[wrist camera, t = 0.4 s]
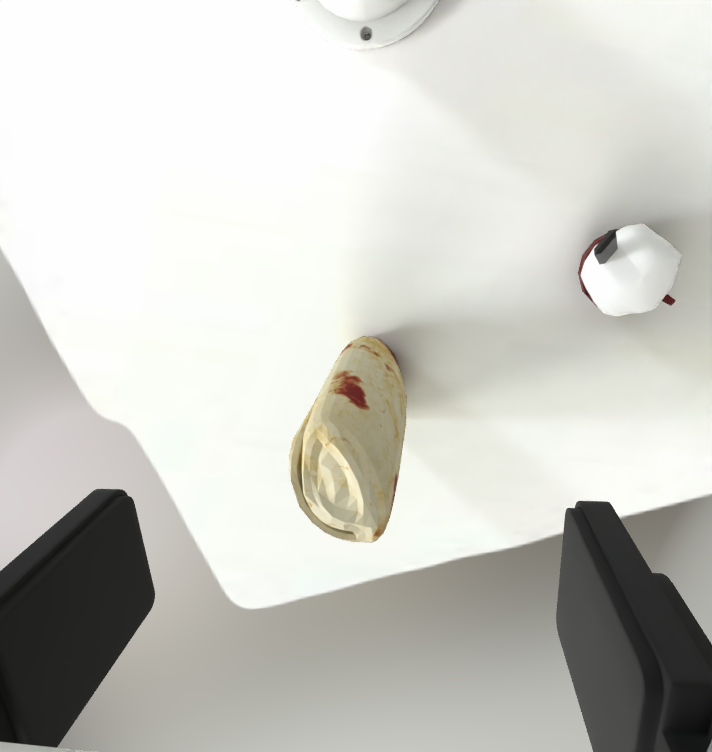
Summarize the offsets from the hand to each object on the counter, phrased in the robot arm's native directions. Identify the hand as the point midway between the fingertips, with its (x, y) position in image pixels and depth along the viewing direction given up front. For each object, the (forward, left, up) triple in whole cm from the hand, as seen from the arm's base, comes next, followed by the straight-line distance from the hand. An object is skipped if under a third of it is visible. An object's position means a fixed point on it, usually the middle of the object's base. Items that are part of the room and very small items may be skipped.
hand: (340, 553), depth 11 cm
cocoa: (-2, +16, -35) cm, 39 cm away
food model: (+8, -3, -35) cm, 36 cm away
